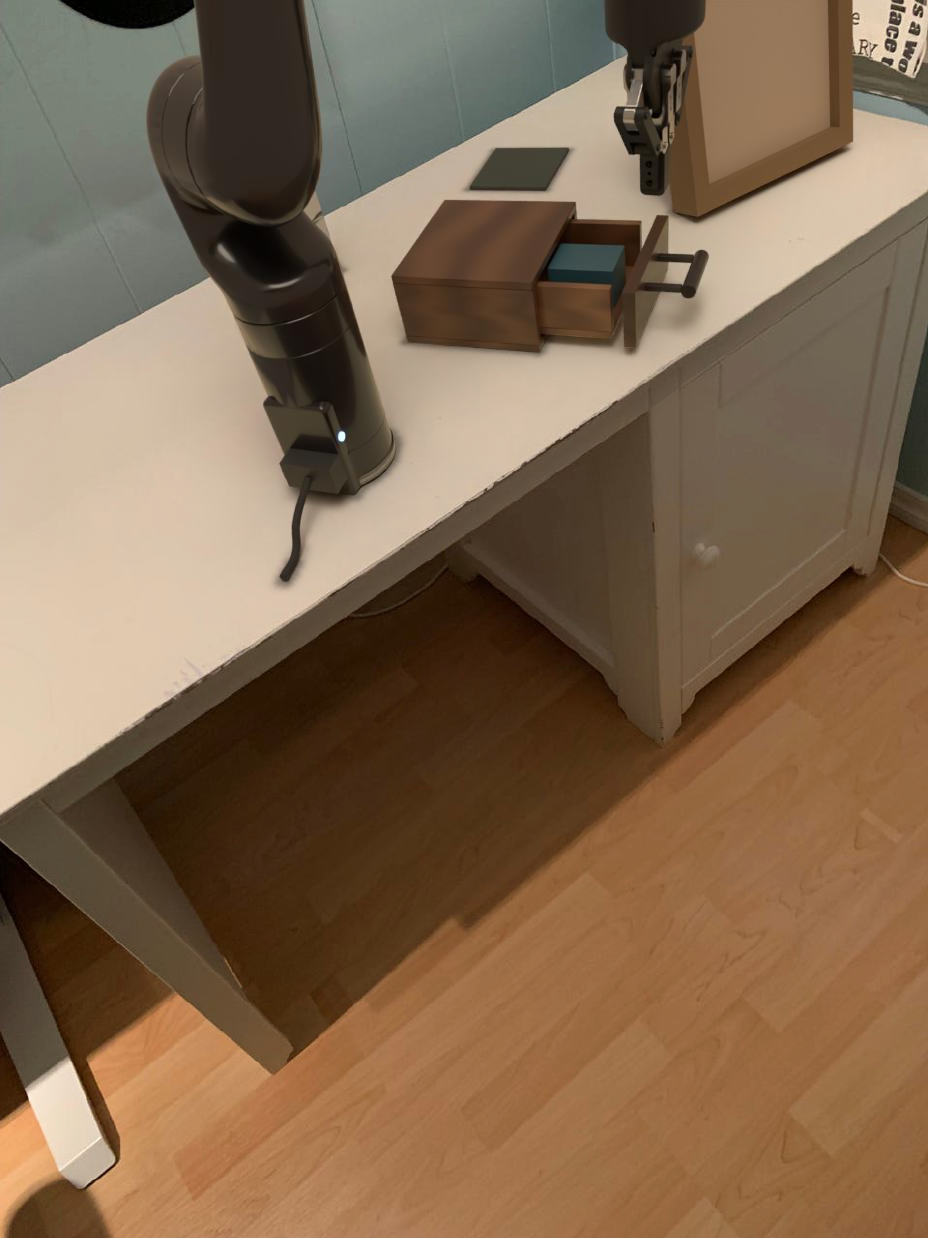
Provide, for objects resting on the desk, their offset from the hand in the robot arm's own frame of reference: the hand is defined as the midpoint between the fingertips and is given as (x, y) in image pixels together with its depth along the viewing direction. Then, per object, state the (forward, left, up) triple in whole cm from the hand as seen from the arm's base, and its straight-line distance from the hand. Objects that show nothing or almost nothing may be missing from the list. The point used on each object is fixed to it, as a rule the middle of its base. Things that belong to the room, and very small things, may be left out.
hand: (654, 190), depth 77 cm
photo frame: (+30, -2, -13) cm, 33 cm away
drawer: (0, +5, -12) cm, 13 cm away
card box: (0, +7, -11) cm, 13 cm away
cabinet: (0, +17, -13) cm, 21 cm away
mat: (+29, +24, -13) cm, 40 cm away
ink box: (+5, +43, -13) cm, 45 cm away
